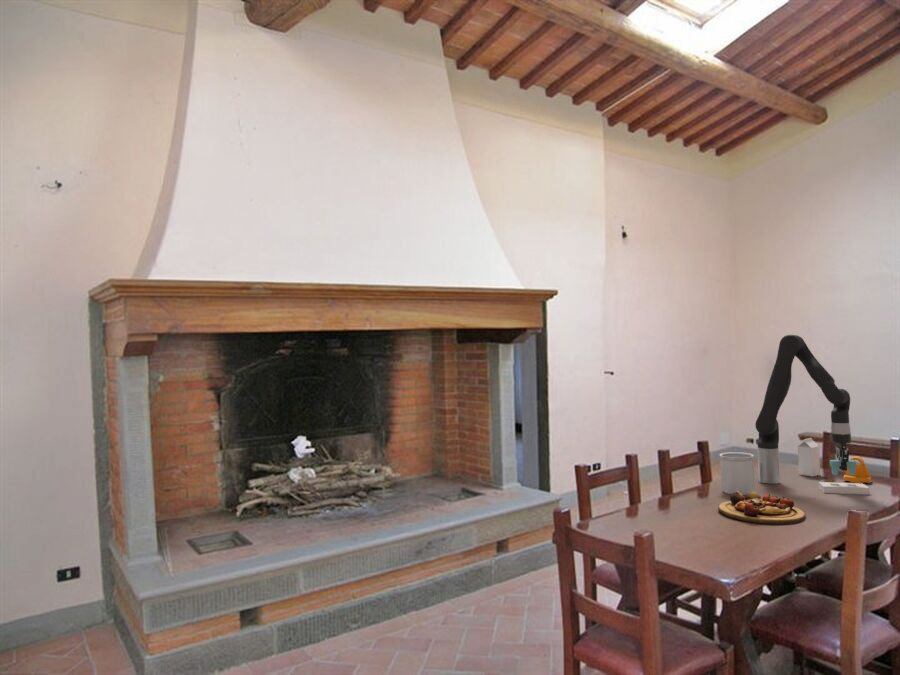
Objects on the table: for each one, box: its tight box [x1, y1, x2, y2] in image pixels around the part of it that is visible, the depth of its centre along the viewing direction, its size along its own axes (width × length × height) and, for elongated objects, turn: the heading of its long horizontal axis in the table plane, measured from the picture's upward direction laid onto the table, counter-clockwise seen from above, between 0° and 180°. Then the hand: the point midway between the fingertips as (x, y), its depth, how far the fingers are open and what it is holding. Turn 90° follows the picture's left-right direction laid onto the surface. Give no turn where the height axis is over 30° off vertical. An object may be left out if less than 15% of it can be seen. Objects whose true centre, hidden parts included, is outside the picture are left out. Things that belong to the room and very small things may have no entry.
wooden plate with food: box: [717, 491, 806, 525], centre depth 251 cm, size 32×32×8 cm
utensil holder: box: [719, 451, 756, 496], centre depth 288 cm, size 15×15×18 cm
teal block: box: [829, 459, 858, 476], centre depth 282 cm, size 10×3×6 cm, turn 71°
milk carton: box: [797, 437, 821, 477], centre depth 318 cm, size 7×7×19 cm
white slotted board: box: [818, 481, 871, 496], centre depth 282 cm, size 18×9×3 cm, turn 71°
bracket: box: [842, 455, 872, 484], centre depth 300 cm, size 11×7×12 cm, turn 50°
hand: (843, 469), depth 282 cm, fingers closed on teal block, 3 cm apart
